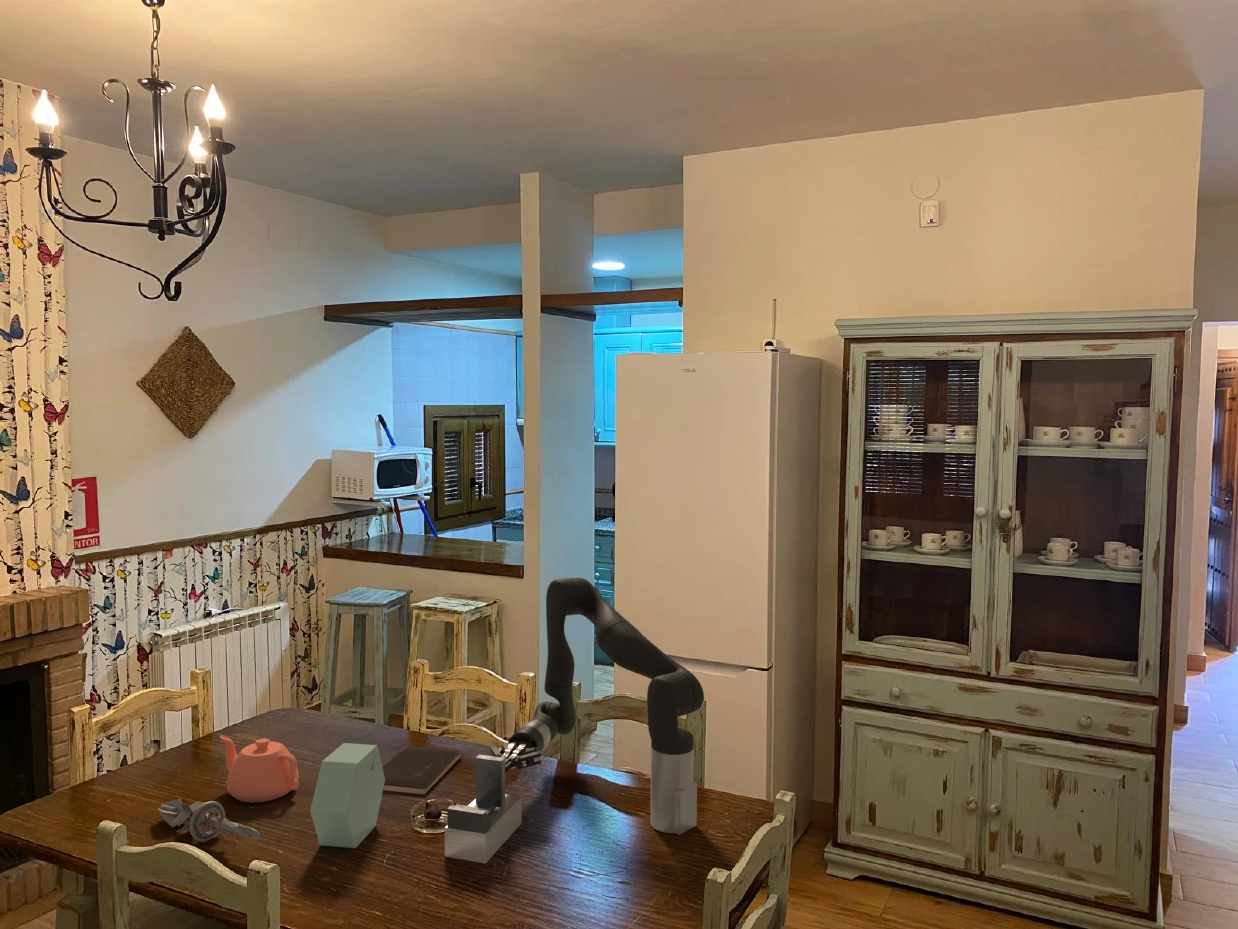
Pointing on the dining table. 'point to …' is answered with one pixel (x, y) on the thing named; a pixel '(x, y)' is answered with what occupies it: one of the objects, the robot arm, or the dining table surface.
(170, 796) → the dining table surface
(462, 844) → the white rectangular holder
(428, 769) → the hardcover book
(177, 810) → the spaceship
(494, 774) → the dark grey tapered block
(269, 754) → the teapot
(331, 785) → the mint hexagonal prism
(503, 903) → the dining table surface
